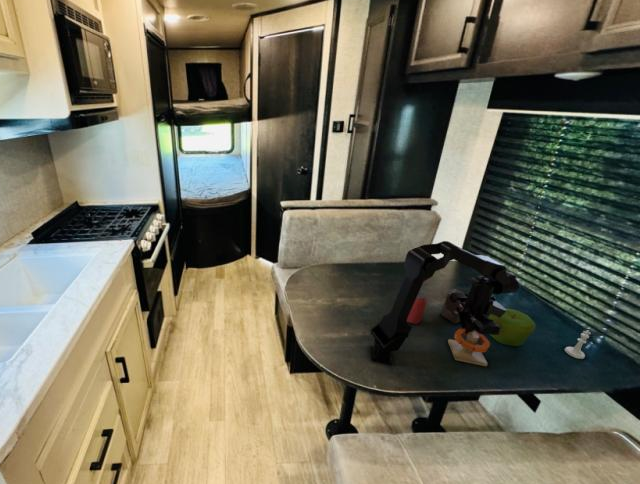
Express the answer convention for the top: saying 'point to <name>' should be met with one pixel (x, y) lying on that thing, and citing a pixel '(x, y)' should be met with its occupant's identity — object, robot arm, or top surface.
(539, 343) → the top surface
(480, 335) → the ring
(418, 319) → the beer can
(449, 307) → the box
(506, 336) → the apple
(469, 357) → the square plate with peg
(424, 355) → the top surface
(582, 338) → the chess piece
